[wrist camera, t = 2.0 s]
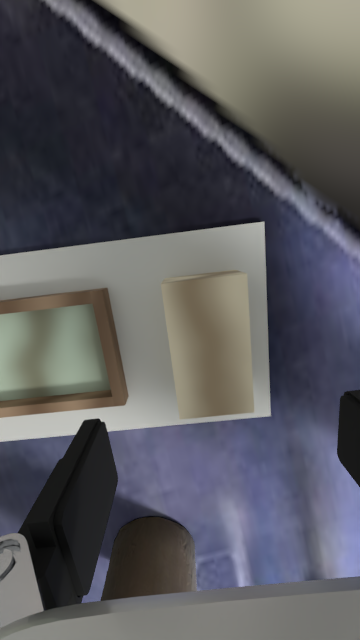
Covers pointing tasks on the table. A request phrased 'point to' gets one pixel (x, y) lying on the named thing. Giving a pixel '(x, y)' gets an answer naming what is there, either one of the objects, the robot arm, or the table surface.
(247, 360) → the tall cream rectangular prism
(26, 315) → the frame
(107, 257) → the mat
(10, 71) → the table surface
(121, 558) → the pillar candle
